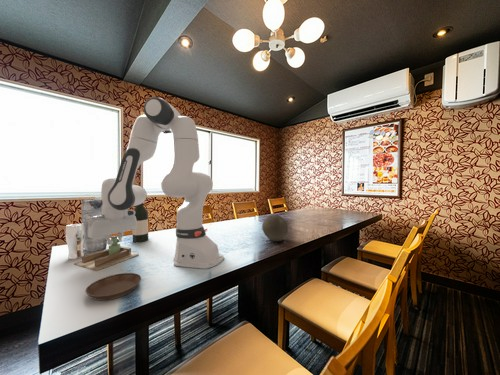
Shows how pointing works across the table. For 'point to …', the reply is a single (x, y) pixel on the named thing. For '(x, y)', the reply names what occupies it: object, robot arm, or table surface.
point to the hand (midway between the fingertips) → (114, 243)
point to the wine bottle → (141, 224)
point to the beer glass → (75, 240)
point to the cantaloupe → (275, 228)
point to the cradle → (105, 258)
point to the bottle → (114, 246)
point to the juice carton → (88, 211)
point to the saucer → (113, 286)
